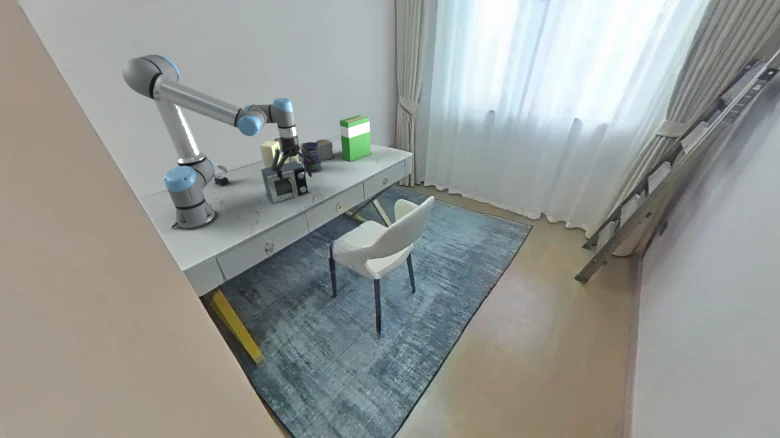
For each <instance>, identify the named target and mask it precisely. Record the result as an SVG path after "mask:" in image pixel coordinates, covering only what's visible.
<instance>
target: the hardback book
mask: <svg viewBox="0 0 780 438" xmlns="http://www.w3.org/2000/svg"><path fill="white" fill-rule="evenodd" d="M339 129H340V130H339V131H340V139H341V153H342V159H343V160H345V161H348V162H353V161H356V160H358V159H360V158H363V157H366V156H368V155H371V154H372V153H371V127H370V116H363V114H359V115H355V116H351V117H348V118H344V119H341V120H339Z"/></svg>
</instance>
